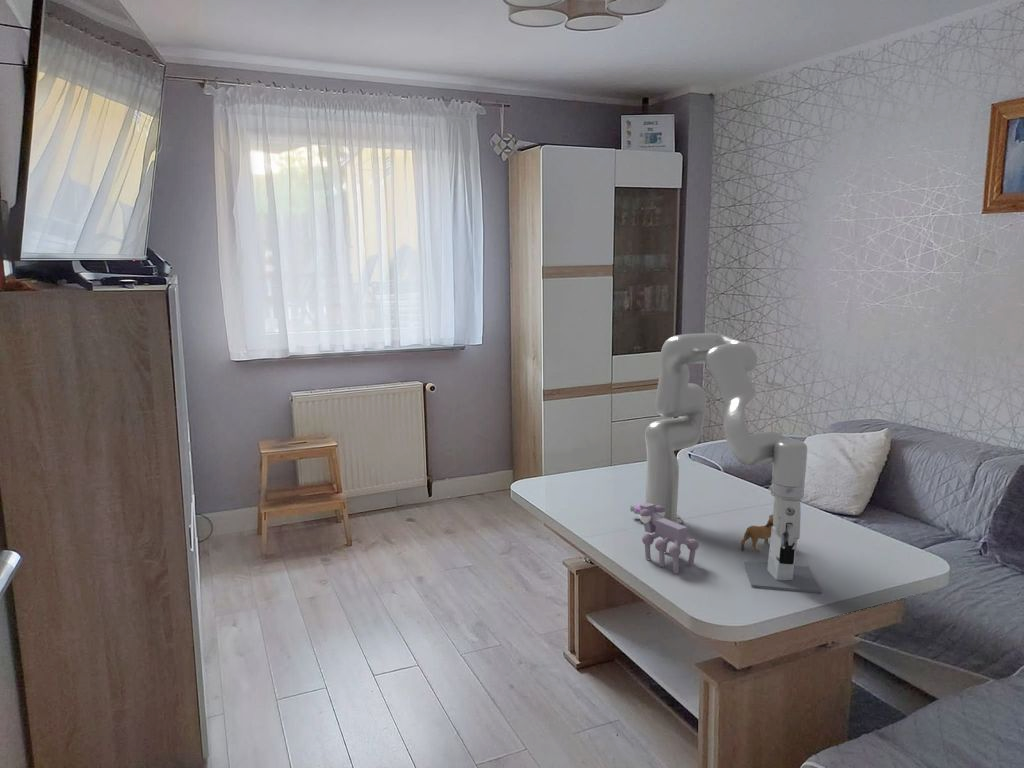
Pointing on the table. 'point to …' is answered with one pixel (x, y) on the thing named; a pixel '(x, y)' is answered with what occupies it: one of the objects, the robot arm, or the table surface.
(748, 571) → the mat
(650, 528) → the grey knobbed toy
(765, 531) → the lion figurine
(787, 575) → the skincare box
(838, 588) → the table surface
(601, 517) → the table surface
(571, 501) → the table surface
